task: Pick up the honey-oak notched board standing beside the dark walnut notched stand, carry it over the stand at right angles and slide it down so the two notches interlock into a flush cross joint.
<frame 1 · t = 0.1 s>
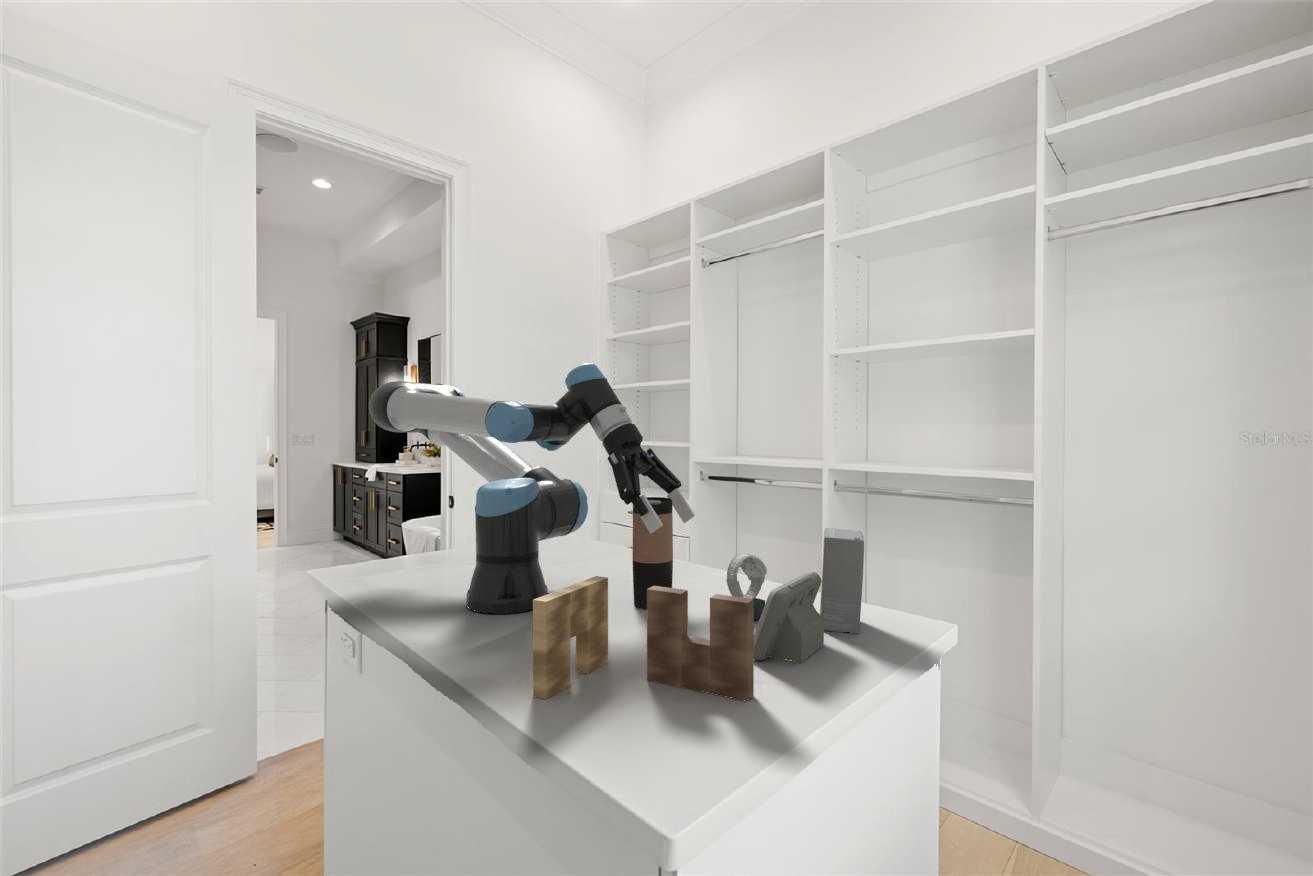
hand: (674, 524, 115), 15 cm above the worktop, tool tilted 35°, fingers open, 13 cm apart
digital clock: (786, 650, 92), on the worktop
travel mug: (652, 605, 115), on the worktop
notched stand: (698, 687, 78), on the worktop
watch: (745, 618, 108), on the worktop
skincare box: (841, 627, 103), on the worktop
notched board: (573, 677, 81), on the worktop
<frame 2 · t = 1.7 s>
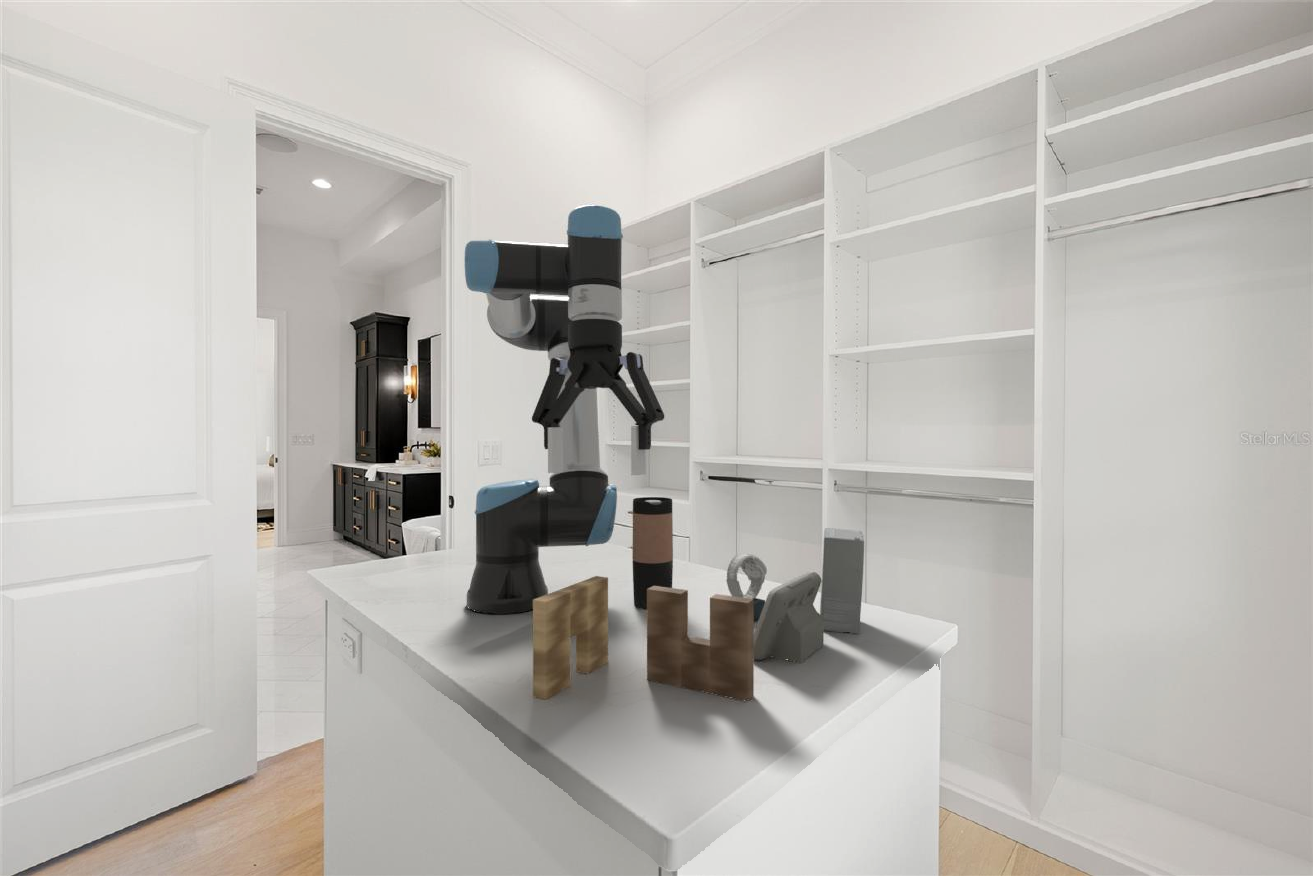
hand: (595, 473, 85), 27 cm above the worktop, tool pointing down, fingers open, 13 cm apart
nothing on the worktop moved.
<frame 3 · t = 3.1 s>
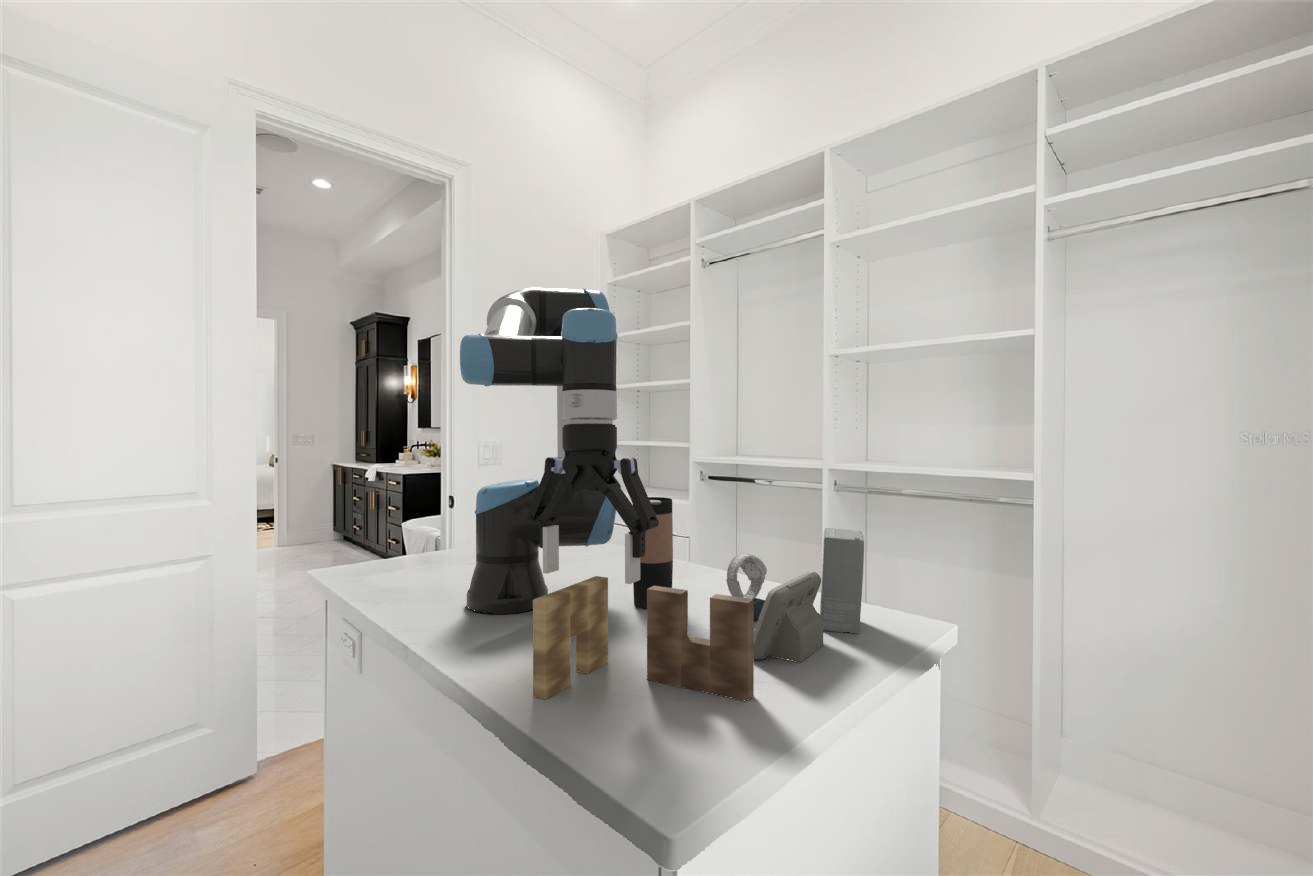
hand: (590, 576, 84), 13 cm above the worktop, tool pointing down, fingers open, 13 cm apart
nothing on the worktop moved.
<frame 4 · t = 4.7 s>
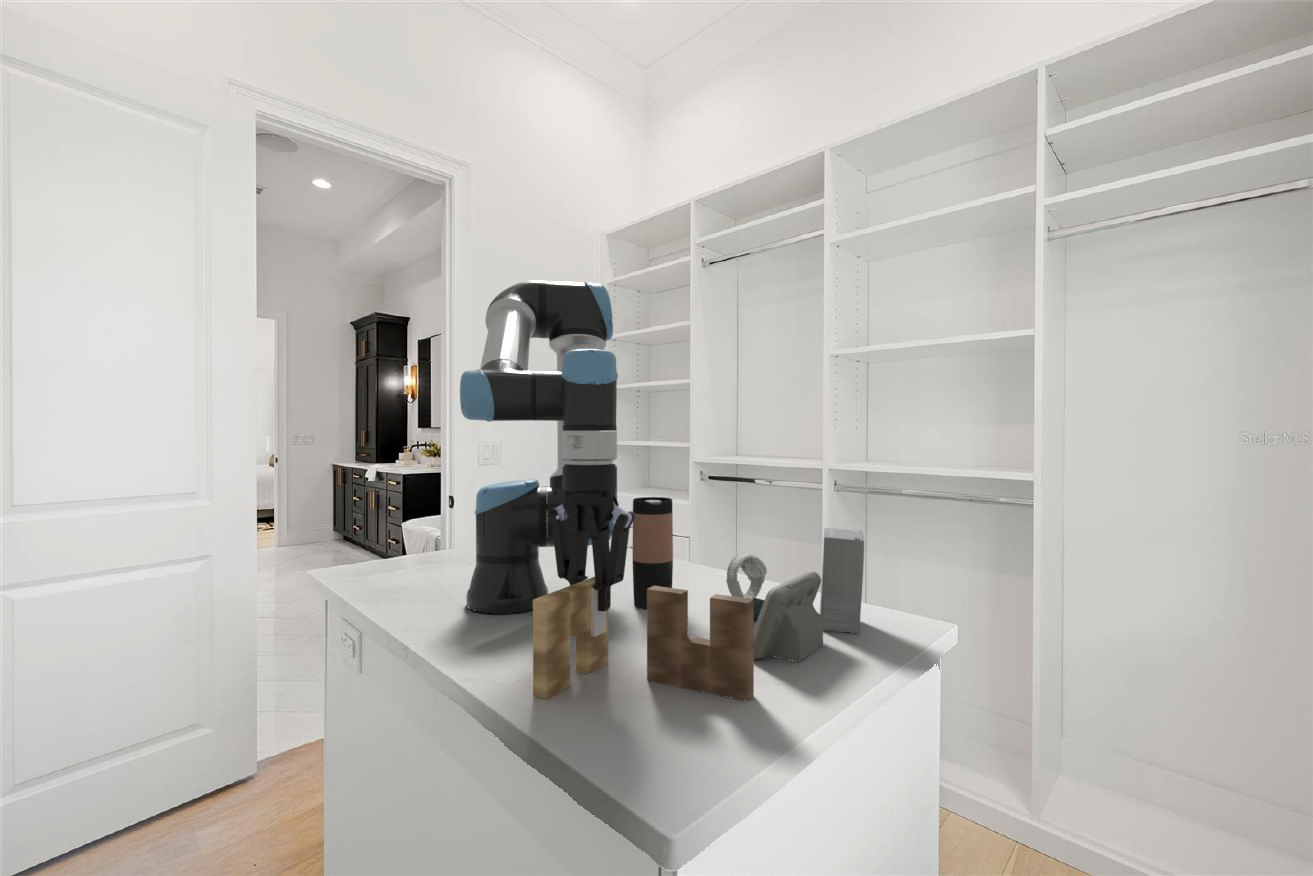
hand: (590, 631, 85), 5 cm above the worktop, tool pointing down, fingers closed on notched board, 2 cm apart
notched board: (573, 677, 81), on the worktop, touching gripper
everything else where it was.
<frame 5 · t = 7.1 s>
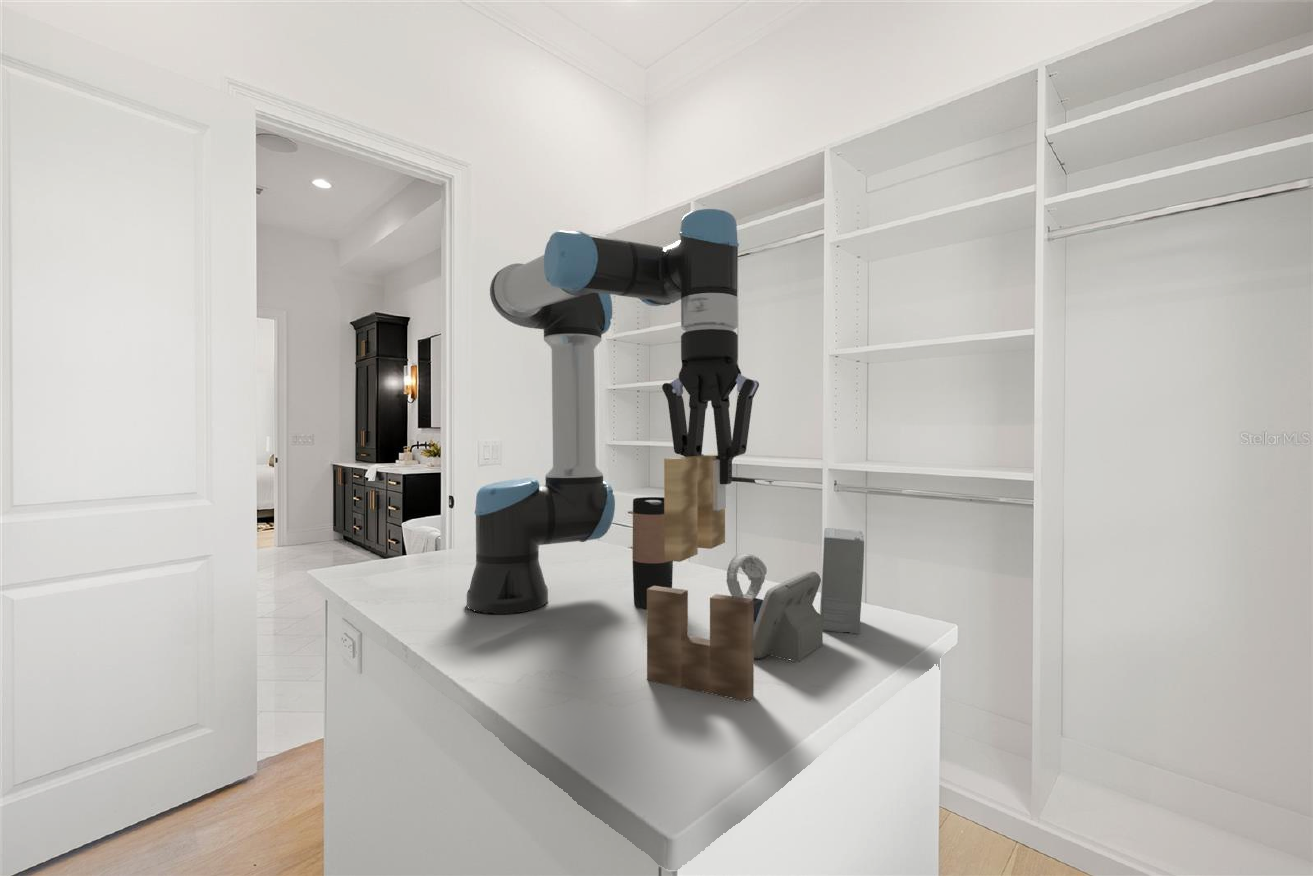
hand: (709, 508, 81), 23 cm above the worktop, tool pointing down, fingers closed on notched board, 2 cm apart
notched board: (697, 550, 78), point 18 cm above the worktop, touching gripper
everything else where it was.
when the fingers open (6 cm above the worktop, at t = 9.8 s): notched board drops 1 cm, resting on notched stand.
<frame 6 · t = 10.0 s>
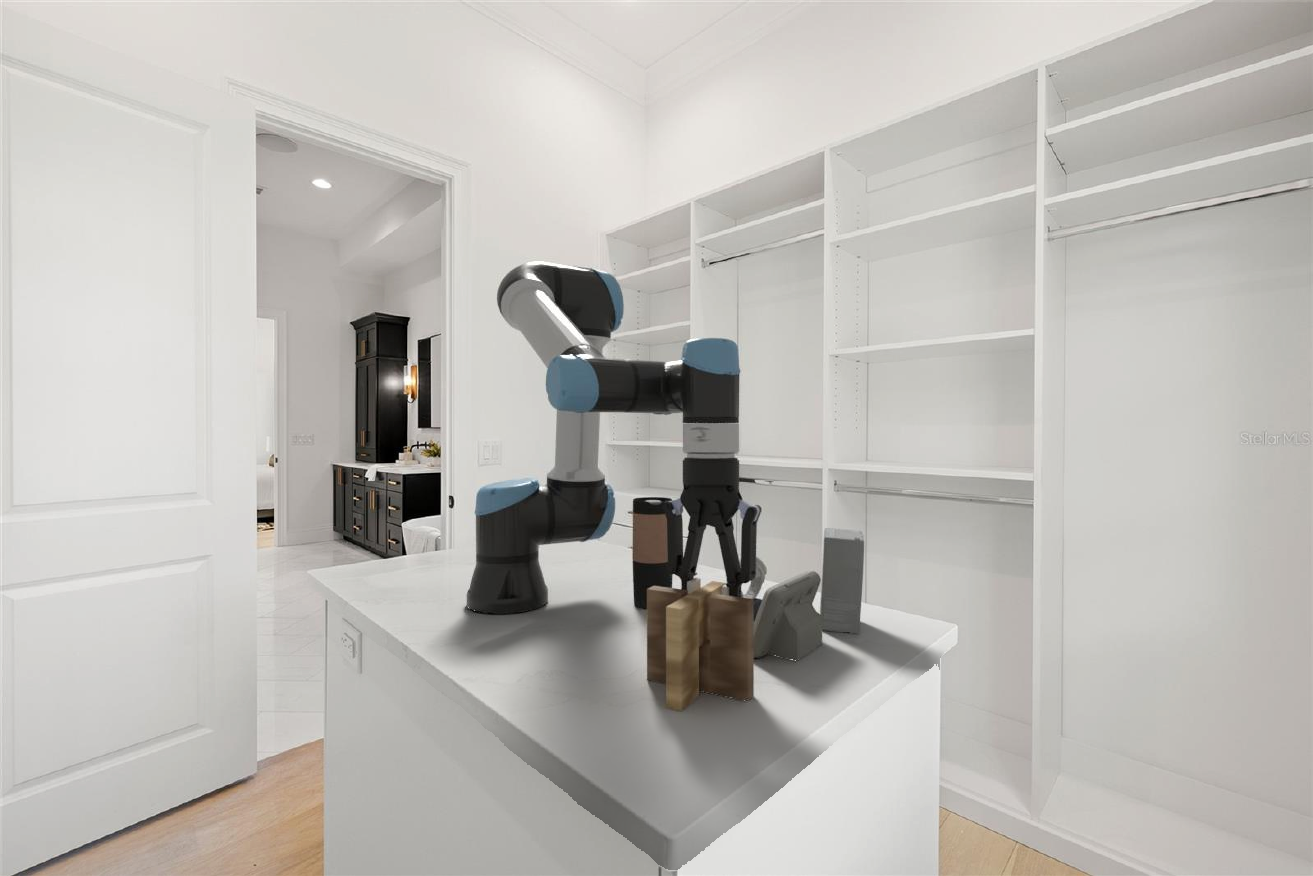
hand: (710, 630, 82), 6 cm above the worktop, tool pointing down, fingers open, 4 cm apart
notched board: (698, 687, 78), resting on notched stand
everything else where it was.
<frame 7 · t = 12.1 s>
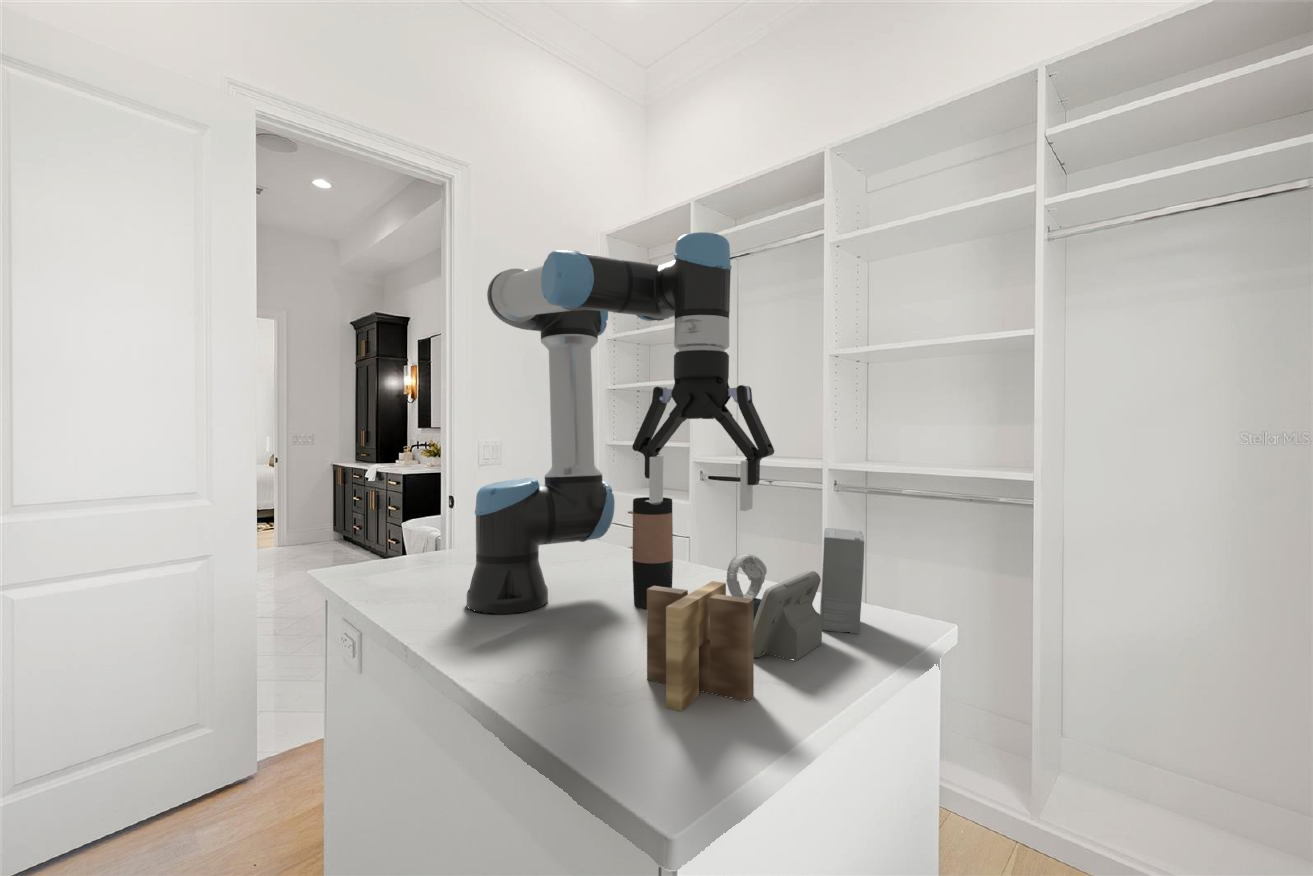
hand: (699, 505, 84), 22 cm above the worktop, tool pointing down, fingers open, 13 cm apart
nothing on the worktop moved.
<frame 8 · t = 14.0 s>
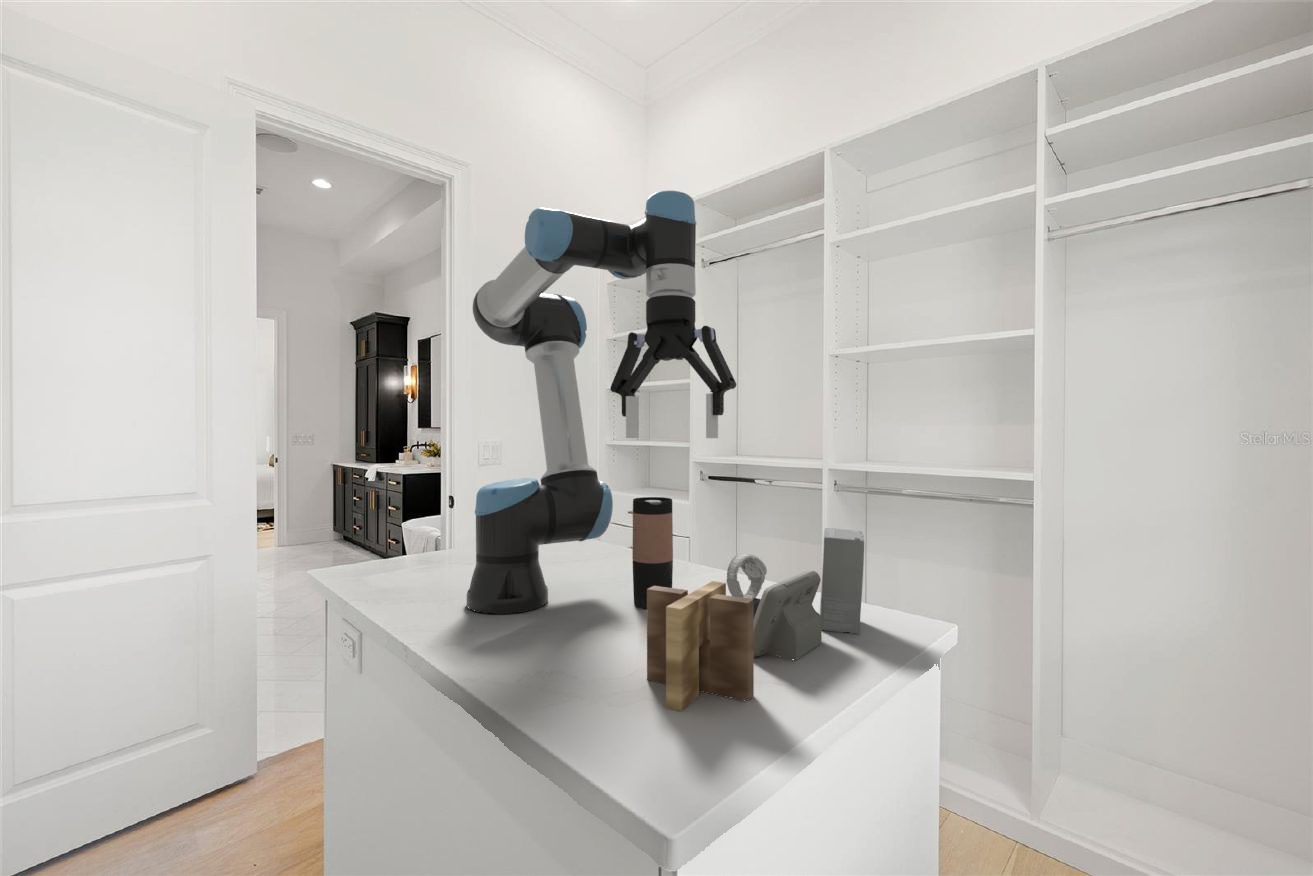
hand: (670, 438, 93), 32 cm above the worktop, tool pointing down, fingers open, 13 cm apart
at the end: notched board 0.0 cm off-centre on the notched stand, point 0.0 cm above the notched stand's base; notched board tilted 0°; the gripper is holding nothing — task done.
